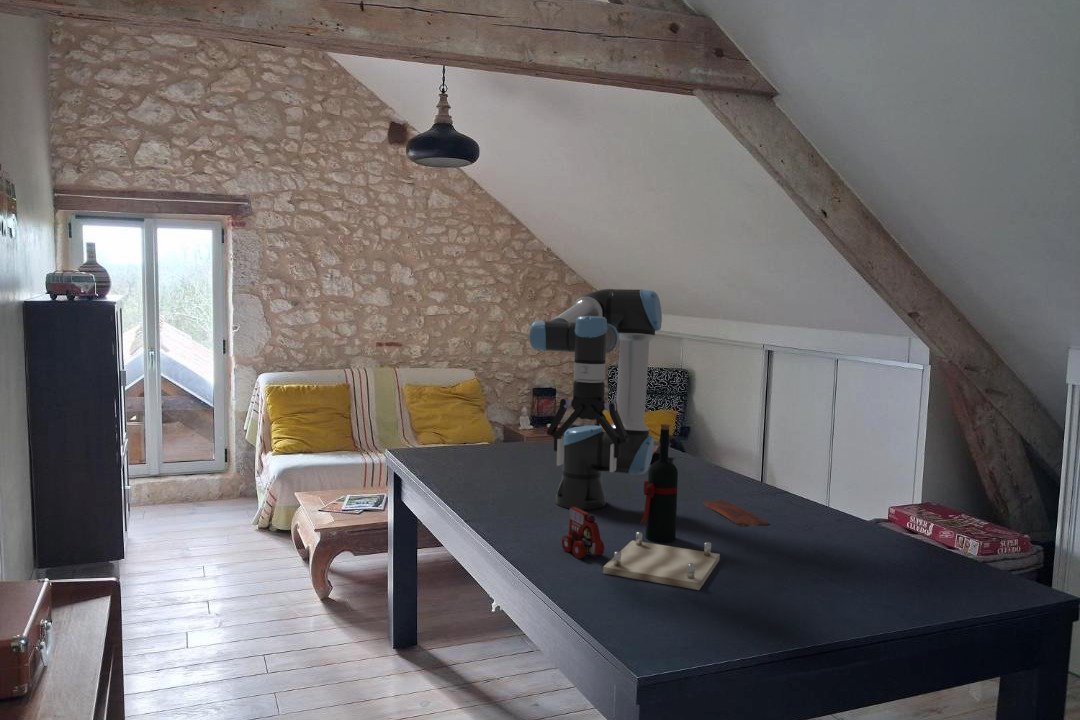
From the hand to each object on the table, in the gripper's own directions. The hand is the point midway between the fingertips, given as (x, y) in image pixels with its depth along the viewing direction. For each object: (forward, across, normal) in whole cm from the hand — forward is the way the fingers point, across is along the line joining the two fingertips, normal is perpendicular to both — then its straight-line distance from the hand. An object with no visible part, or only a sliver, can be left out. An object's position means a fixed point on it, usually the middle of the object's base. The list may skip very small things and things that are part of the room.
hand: (586, 468), depth 196 cm
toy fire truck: (+21, 0, 0) cm, 21 cm away
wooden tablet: (+22, +26, +56) cm, 65 cm away
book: (+21, -24, +114) cm, 119 cm away
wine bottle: (+21, +13, +20) cm, 32 cm away
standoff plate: (+21, +20, 0) cm, 29 cm away
